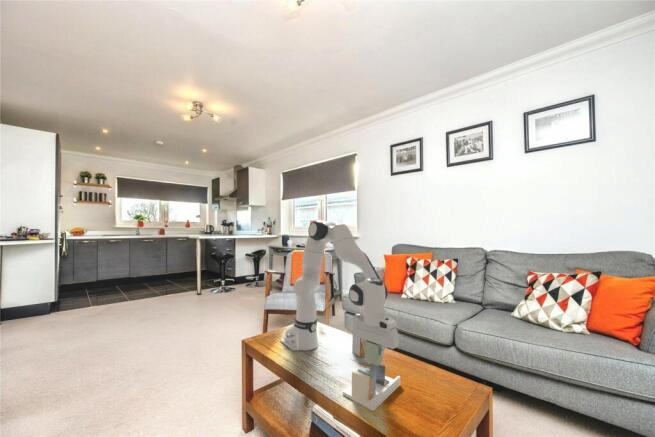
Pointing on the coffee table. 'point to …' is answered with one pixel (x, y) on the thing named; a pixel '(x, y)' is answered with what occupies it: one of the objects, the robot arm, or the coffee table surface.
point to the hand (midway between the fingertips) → (373, 352)
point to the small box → (357, 346)
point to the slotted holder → (371, 386)
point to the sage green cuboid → (373, 353)
